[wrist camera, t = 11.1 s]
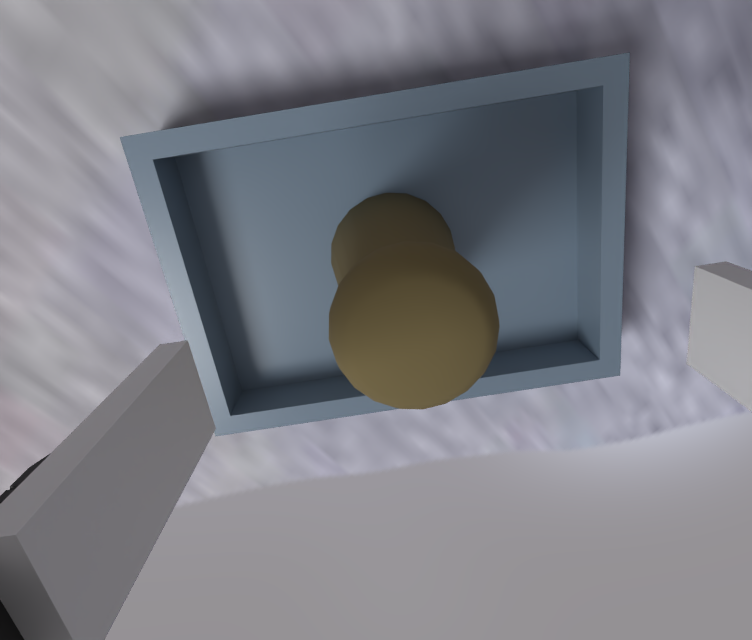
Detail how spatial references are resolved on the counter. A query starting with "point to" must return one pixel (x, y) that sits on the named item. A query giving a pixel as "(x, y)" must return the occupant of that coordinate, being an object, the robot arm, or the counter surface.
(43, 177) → the counter surface
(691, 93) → the counter surface
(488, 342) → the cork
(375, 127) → the tray
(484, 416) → the counter surface
